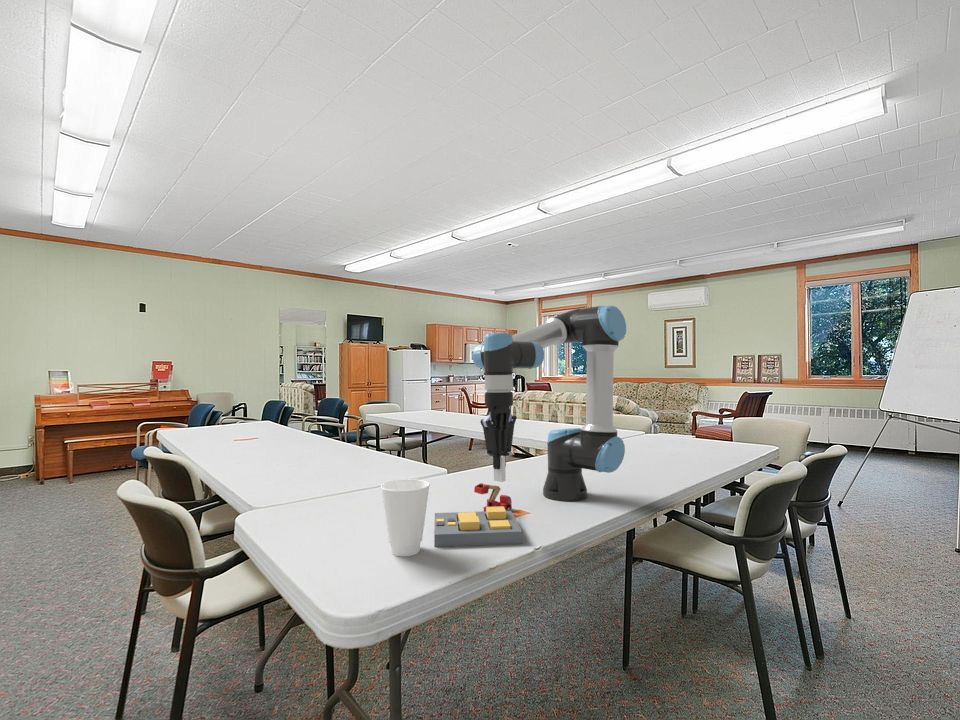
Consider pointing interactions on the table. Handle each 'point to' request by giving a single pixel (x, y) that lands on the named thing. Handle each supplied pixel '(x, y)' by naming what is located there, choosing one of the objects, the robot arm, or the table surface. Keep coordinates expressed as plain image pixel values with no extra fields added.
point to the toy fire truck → (494, 496)
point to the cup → (405, 514)
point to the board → (474, 531)
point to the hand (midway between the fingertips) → (499, 480)
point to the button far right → (466, 514)
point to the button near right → (469, 523)
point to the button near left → (499, 524)
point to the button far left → (496, 513)
